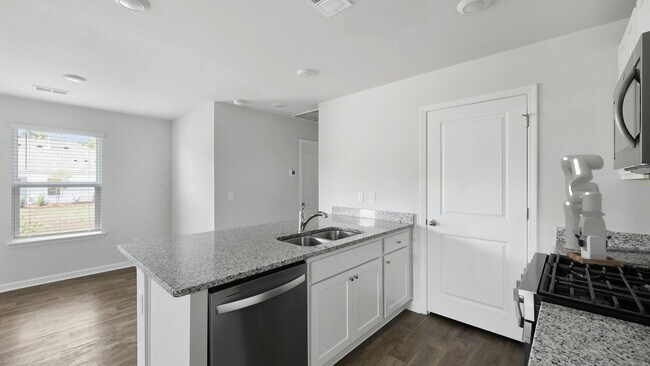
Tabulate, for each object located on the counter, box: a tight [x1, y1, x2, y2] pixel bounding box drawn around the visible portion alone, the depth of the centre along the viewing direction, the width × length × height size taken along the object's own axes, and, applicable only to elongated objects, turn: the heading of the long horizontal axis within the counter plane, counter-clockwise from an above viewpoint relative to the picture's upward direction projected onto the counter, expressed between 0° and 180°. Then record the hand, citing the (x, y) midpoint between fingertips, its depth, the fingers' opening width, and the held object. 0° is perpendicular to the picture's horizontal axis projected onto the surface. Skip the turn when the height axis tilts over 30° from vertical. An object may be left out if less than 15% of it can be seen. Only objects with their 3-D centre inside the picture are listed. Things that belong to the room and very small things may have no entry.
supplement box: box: [580, 236, 607, 260], centre depth 150 cm, size 7×7×13 cm
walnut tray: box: [565, 251, 625, 268], centre depth 149 cm, size 18×16×2 cm
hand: (592, 247), depth 150 cm, fingers open, 9 cm apart
